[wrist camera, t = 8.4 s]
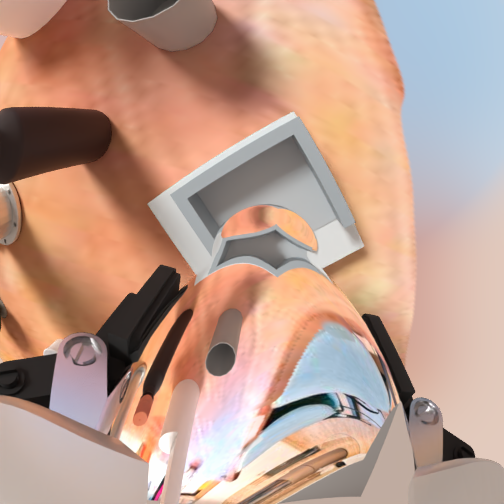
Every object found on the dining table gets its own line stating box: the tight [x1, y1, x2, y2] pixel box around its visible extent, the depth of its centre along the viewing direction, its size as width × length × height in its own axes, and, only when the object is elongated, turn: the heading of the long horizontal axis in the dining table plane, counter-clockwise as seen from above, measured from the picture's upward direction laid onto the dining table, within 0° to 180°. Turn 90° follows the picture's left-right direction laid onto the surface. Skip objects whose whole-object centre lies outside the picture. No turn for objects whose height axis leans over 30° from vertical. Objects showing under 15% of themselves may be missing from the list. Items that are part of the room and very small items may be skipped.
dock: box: [148, 111, 364, 274], centre depth 28 cm, size 18×16×6 cm
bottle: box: [0, 107, 111, 185], centre depth 19 cm, size 7×7×20 cm
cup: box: [108, 0, 217, 52], centre depth 18 cm, size 8×8×10 cm
